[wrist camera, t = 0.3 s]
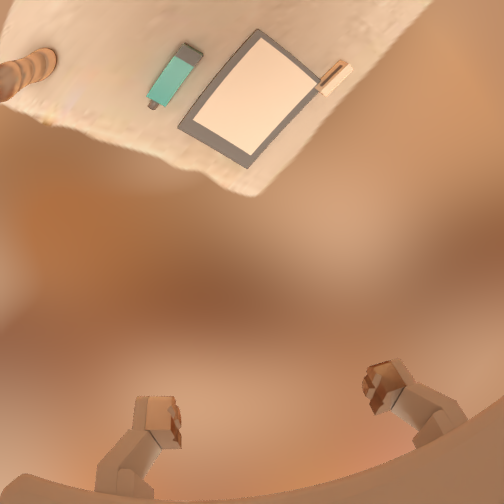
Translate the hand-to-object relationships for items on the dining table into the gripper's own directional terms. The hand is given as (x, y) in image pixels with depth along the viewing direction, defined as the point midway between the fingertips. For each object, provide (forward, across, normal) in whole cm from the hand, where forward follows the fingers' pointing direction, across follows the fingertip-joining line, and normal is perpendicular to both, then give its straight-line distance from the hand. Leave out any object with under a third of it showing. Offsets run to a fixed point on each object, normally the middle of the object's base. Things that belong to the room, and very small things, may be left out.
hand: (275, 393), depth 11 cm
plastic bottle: (+44, +32, -27) cm, 61 cm away
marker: (+47, +7, -19) cm, 51 cm away
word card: (+47, -21, -18) cm, 55 cm away
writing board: (+49, -6, -12) cm, 51 cm away
